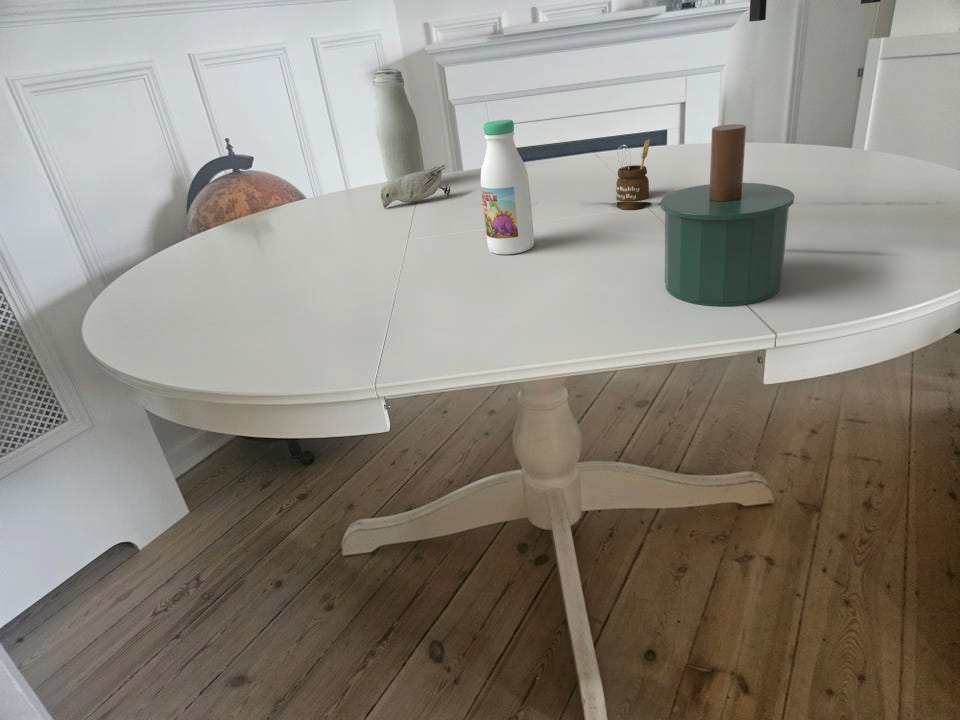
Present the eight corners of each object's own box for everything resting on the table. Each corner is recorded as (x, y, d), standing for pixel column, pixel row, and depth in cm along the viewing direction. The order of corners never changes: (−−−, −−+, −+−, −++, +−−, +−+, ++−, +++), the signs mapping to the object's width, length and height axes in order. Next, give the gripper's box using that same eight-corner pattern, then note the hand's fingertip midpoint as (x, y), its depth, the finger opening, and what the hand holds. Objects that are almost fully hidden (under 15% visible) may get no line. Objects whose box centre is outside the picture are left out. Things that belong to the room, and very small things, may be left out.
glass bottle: (428, 183, 163) (410, 64, 150) (425, 191, 154) (404, 66, 141) (391, 187, 164) (369, 70, 151) (385, 196, 155) (361, 72, 142)
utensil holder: (627, 201, 122) (625, 136, 117) (656, 203, 118) (656, 136, 113) (610, 209, 118) (608, 142, 113) (640, 211, 114) (639, 143, 109)
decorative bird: (381, 206, 145) (375, 173, 142) (449, 194, 148) (444, 161, 145) (384, 211, 141) (378, 177, 137) (454, 198, 144) (449, 165, 140)
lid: (798, 191, 78) (807, 112, 73) (786, 226, 66) (795, 135, 62) (676, 192, 85) (677, 120, 80) (646, 224, 73) (645, 142, 69)
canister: (785, 269, 82) (794, 187, 77) (773, 310, 71) (782, 219, 67) (678, 264, 88) (680, 189, 83) (653, 301, 78) (653, 218, 73)
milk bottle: (514, 238, 109) (502, 116, 100) (544, 245, 104) (533, 117, 95) (479, 250, 106) (463, 125, 97) (507, 258, 100) (493, 126, 91)
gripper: (927, -223, 69) (897, -3, 79) (701, -186, 70) (699, 28, 79) (979, -252, 62) (939, -8, 72) (729, -211, 63) (722, 27, 72)
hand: (813, 12), depth 76 cm, fingers open, 13 cm apart
